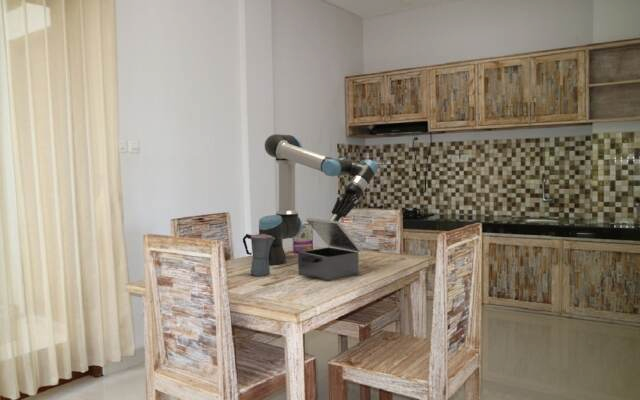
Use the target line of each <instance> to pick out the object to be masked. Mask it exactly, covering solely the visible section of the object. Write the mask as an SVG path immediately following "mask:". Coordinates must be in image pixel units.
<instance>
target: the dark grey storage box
mask: <svg viewBox="0 0 640 400" xmlns="http://www.w3.org/2000/svg"><path fill="white" fill-rule="evenodd" d="M297 260H298V265H297V266H298V267H297V268H298V275H301V276H305V277H308V278H313V279H317V280H321V281H325V282H331V281H335V280H336V281H337V280H340V279H345V278H349V277H353V276H354V277H355V276H359V275H360V273H359V252H358V251H352V250H346V249H340V248H334V247H329V246H328V247H322V248H317V249H316V248H315V249H314V248H313V250H307V251H301V252H298V253H297Z"/></svg>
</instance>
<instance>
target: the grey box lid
mask: <svg viewBox="0 0 640 400" xmlns="http://www.w3.org/2000/svg"><path fill="white" fill-rule="evenodd" d="M305 221H306V223H309V224H310V225H311V227H312V230H313V231H315V233H316V234H317V235H318V236H319V237H320V238H321V239H322V240H323V242H324V243H325V244H326V245H327V246H328V247H330V248H336V249H342V250H348V251H354V252H358V253H359V252H361V251H362V248H361V247H360V246H359V245H358V244H357V243H356V241H355V240H354V239H353V237H351V235H350V234H349V232H348V231H347V230H346V229H345V228H344V227H343V226H342V224H341V223H340V221H330V219H329V220H328V219H320V218H311V217H310V218H308V217H307V218H306V219H305Z"/></svg>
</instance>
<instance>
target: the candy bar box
mask: <svg viewBox="0 0 640 400" xmlns="http://www.w3.org/2000/svg"><path fill="white" fill-rule="evenodd" d="M313 237H314V236H313V228H312V227H311V225H310V224H309V223H308V222H302V230H301V232H300V233H299V234H298V235H297V236H295V237H293V238H291V240H292V252H293V253H294V254H298V252H301V251H307V250H314V239H313Z"/></svg>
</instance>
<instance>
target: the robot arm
mask: <svg viewBox="0 0 640 400" xmlns="http://www.w3.org/2000/svg"><path fill="white" fill-rule="evenodd" d="M264 150H265V152H266V154H267V155H269V156H270V157H273V158H275V162H276V163H277V164H278V210H277V212H276V213H275V214H272V215H266V216H262V217H261V218H260V219H259V220H258V234H260V230H262V231H263V233H262V234H265V235H270V236H272V237H274V238H275V239H274V240H273V242H272V244H271V246H270V251H269V257H268V259H269V266H277V265H282V264H285V263H287V256H286V252H285V250H284V247H283V240H286V239H292V238H293V237H295V236H297V235H298V234H299V233H300V232H301V230H302V223H303V220H302V219H301V218H300V216H299V212H298V211H297V210H296V164H299V165H302V166H304V167H307V168H310V169H313V170H317V171H319V172H322V173H323V174H324V175H325V176H329V177H339V176H348V177H352V180H350V182H349V184H348V185H347V186H346V188H345V190H344V191H345V192H344V194H343V195H342V196H341V197H339V196H337V198H336V201H335V204H334V206H333V208H332V209H331V214H332V215H331V218H330V219H329V220H330V221H338V222H340V219H342V218H345V217H347V215H348V214H349V213H350V212H351V211H352V210H353V209H354V208H355V206H357V205H358V204H359V203H360V201H359V199H360V198H361V196H362V195H363V193H364V192H365V190H366V189H367V187H368V186H369V184H370V183H371V181H372V180H373V178H374V177H375V176H376V174H377V172H378V169H379V167H378V165H377V163H376V162H375V161H373V160H371V159H365V160H364V161H363V163H362V162H360V161H355V160H352V159H349V158H345V157H339V159H337V158H336V159H335V158H332V157H329V156H327V155H323V154H321V153H319V152H315V151H312V150H310V149H306V148H303V145H302V141H301V140H300V139H299V138H298V137H297V136H295V135H291V134H276V133H275V134H271V135H270V136H268V137H267V138H266V140H265V141H264Z"/></svg>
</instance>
